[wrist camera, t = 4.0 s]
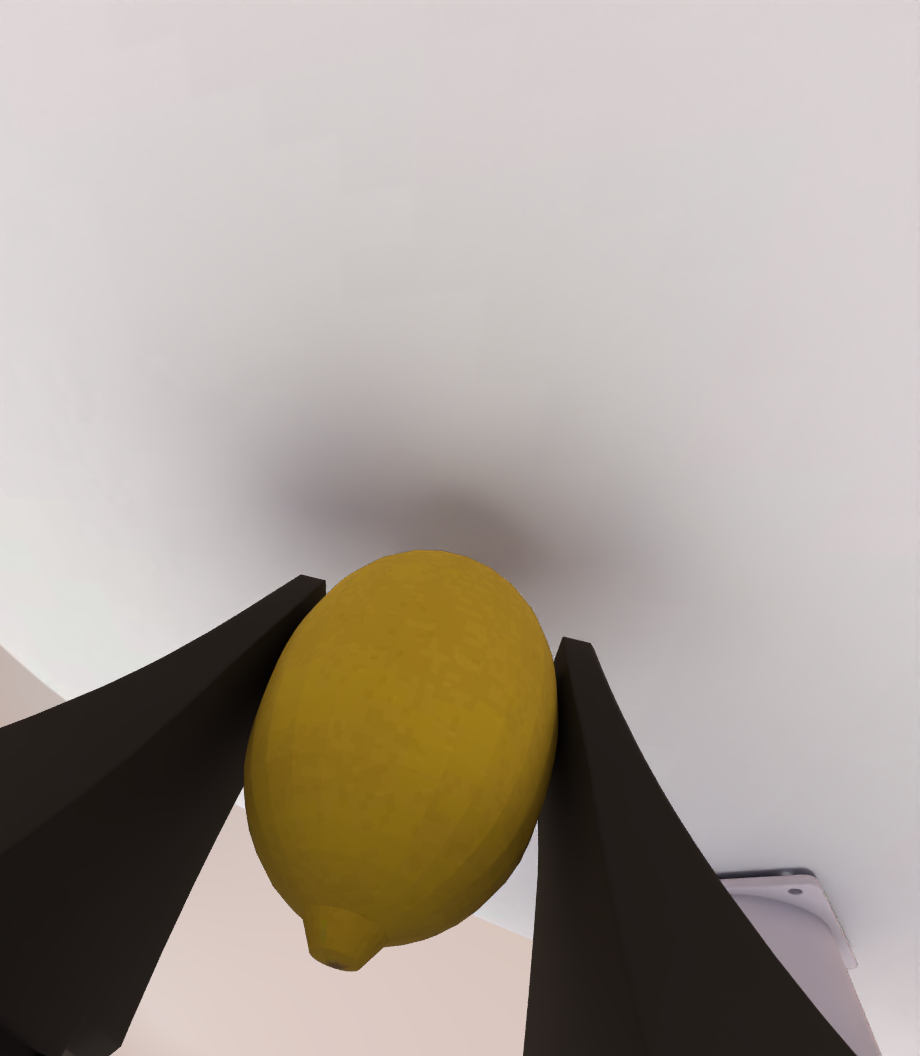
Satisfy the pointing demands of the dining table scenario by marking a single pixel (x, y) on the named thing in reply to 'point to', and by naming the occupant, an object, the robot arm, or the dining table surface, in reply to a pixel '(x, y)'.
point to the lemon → (401, 753)
